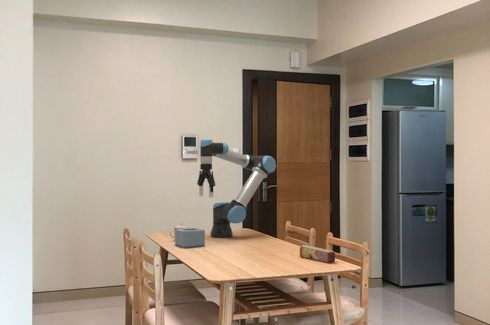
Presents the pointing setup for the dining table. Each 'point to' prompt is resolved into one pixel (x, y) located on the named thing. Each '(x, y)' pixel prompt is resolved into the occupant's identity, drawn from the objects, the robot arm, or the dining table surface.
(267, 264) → the dining table surface
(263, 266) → the dining table surface
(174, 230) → the teacup with lid
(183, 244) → the grey box with opening
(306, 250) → the snack package
